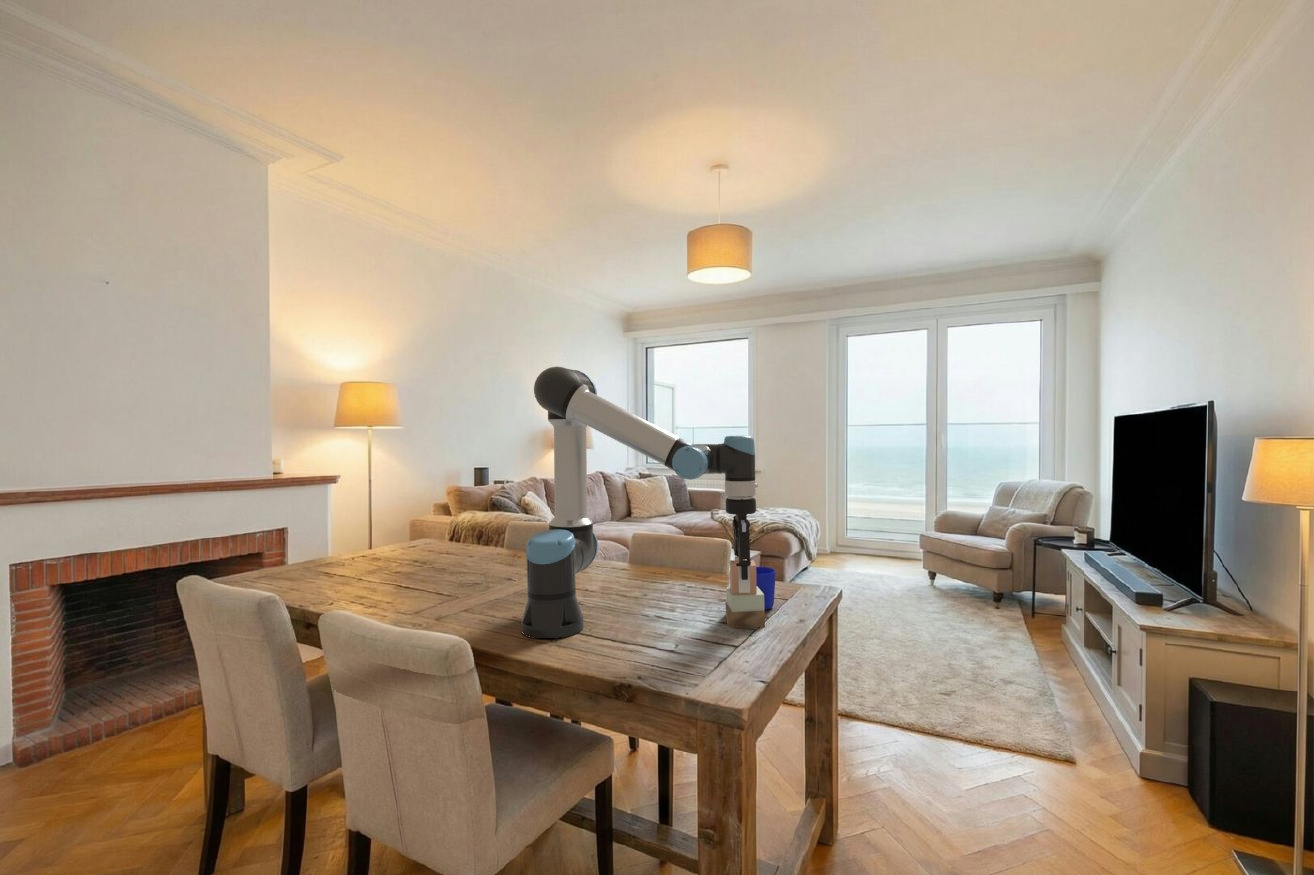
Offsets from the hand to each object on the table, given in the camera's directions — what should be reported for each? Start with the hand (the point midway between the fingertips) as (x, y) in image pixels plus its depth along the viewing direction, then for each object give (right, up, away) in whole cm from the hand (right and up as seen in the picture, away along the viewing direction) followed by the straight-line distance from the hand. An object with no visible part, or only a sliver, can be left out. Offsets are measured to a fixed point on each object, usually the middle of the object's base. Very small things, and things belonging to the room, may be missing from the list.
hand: (742, 586), depth 150 cm
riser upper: (+1, -5, 0) cm, 5 cm away
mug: (+7, -8, +13) cm, 17 cm away
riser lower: (+1, -9, 0) cm, 9 cm away
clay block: (0, -1, 0) cm, 1 cm away
